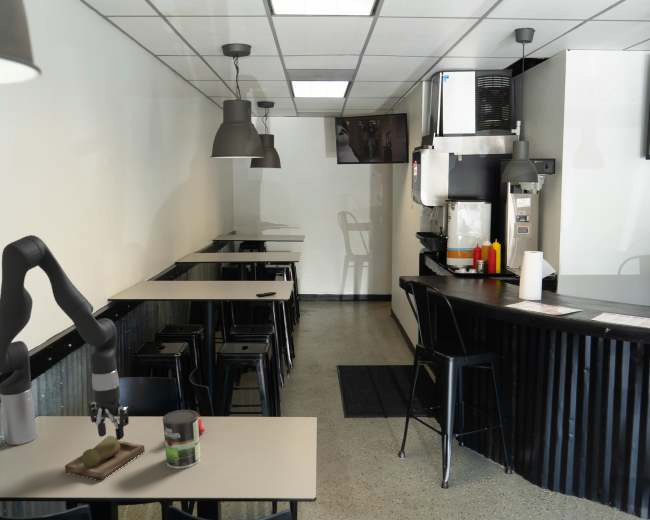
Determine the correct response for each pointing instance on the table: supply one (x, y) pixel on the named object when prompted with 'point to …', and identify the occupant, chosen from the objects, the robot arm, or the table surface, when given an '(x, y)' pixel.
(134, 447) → the walnut tray
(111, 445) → the cork
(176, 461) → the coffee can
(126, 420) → the robot arm
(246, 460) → the table surface
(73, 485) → the table surface
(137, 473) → the table surface
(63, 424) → the table surface
